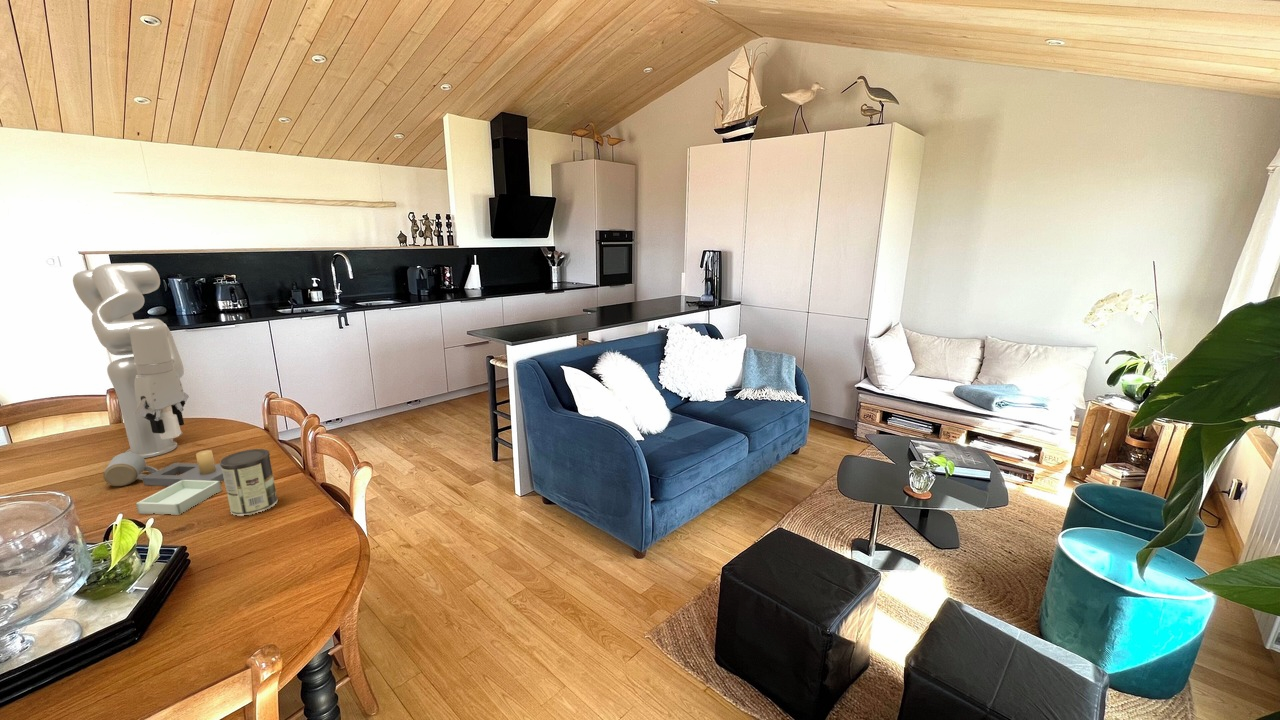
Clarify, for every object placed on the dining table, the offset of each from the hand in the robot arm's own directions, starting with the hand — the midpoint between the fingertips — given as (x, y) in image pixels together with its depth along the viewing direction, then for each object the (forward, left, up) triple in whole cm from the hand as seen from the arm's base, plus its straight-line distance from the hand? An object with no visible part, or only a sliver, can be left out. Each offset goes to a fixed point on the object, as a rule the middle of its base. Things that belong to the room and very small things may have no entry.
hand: (168, 428), depth 149 cm
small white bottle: (0, 0, -3) cm, 3 cm away
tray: (+13, +14, -15) cm, 24 cm away
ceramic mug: (+3, -11, -16) cm, 20 cm away
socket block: (0, +5, -15) cm, 16 cm away
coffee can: (+14, +35, -16) cm, 41 cm away
